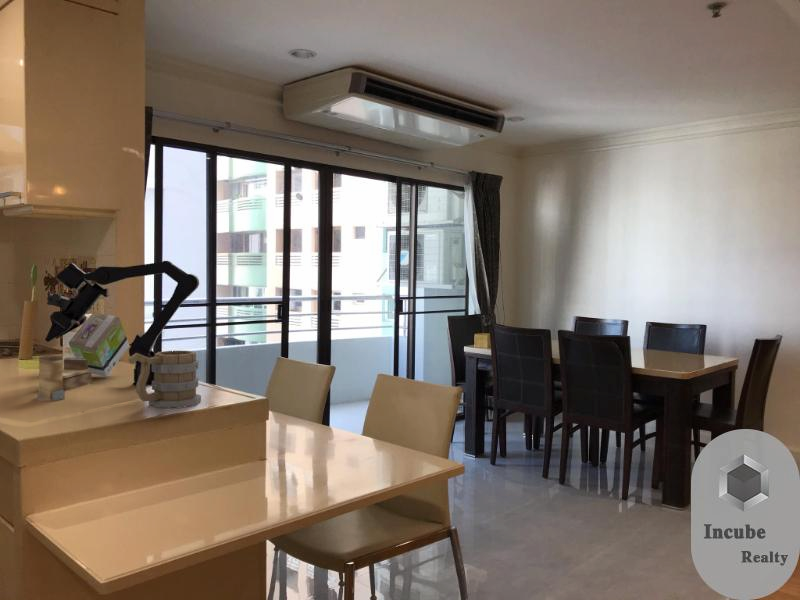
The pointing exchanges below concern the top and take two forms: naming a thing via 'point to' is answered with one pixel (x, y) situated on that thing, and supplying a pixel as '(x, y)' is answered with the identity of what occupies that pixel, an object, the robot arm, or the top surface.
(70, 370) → the lid
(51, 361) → the wooden block
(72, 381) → the open wooden box
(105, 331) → the tea box
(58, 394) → the grey rounded piece
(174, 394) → the tankard
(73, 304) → the robot arm
